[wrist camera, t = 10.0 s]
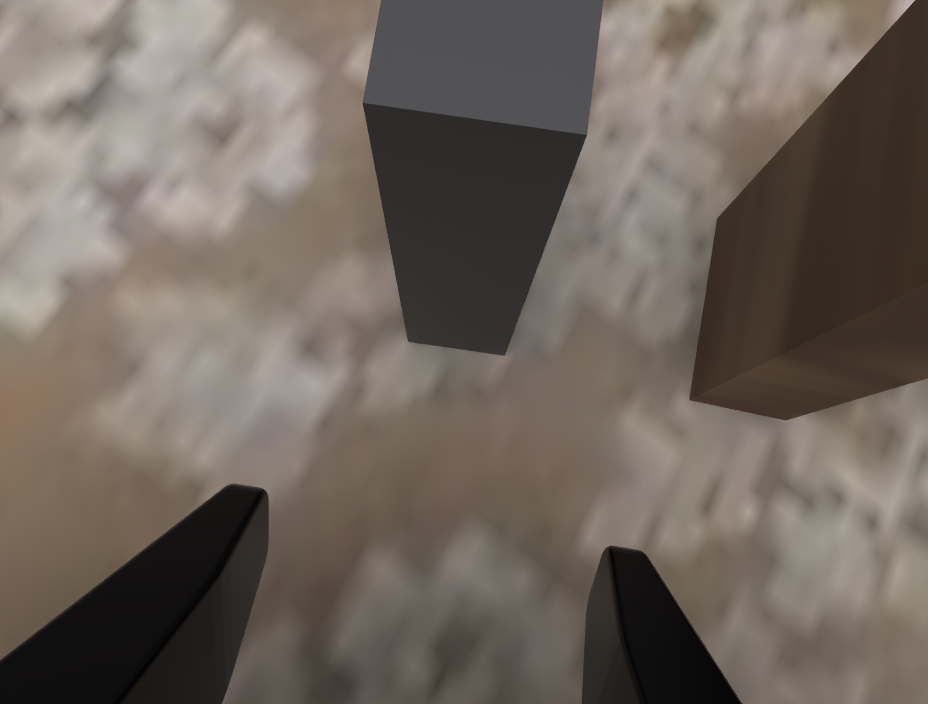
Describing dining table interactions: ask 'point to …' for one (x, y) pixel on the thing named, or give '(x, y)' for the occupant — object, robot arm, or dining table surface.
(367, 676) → the dining table surface
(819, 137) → the domino
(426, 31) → the dark gray rectangular block
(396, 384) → the dining table surface
